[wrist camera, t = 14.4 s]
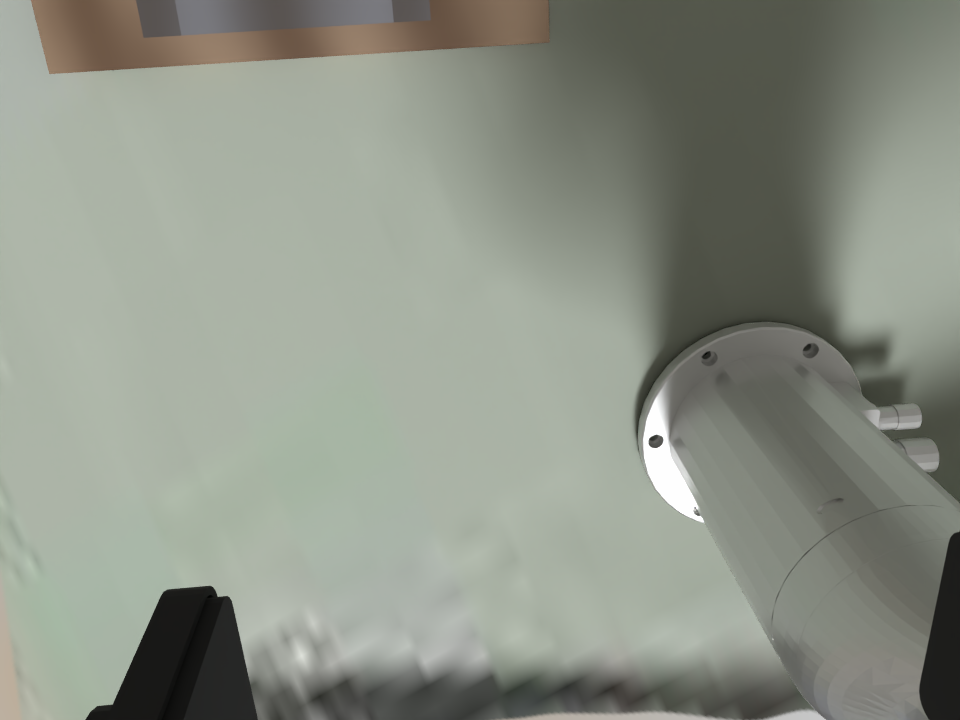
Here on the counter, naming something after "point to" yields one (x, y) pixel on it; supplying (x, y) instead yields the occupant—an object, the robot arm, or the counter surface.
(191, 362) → the counter surface
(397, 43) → the collar stand
